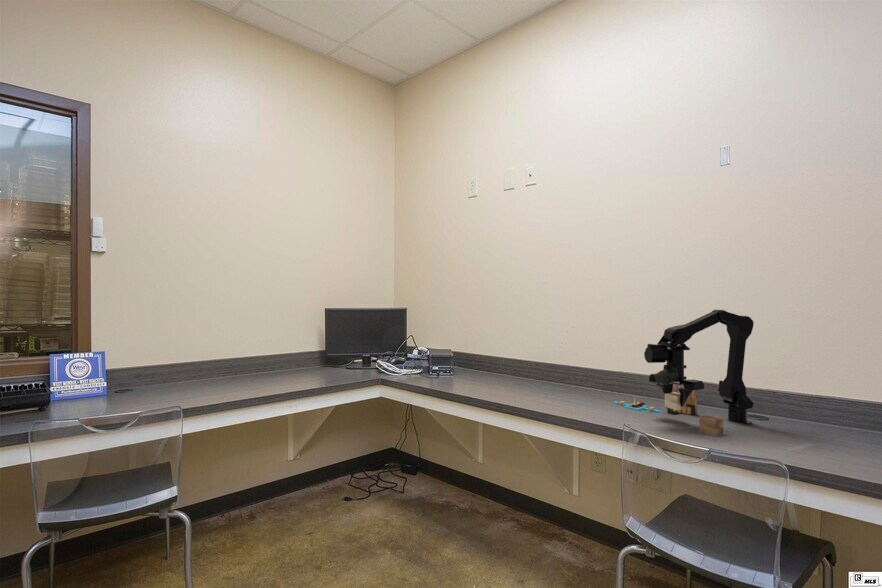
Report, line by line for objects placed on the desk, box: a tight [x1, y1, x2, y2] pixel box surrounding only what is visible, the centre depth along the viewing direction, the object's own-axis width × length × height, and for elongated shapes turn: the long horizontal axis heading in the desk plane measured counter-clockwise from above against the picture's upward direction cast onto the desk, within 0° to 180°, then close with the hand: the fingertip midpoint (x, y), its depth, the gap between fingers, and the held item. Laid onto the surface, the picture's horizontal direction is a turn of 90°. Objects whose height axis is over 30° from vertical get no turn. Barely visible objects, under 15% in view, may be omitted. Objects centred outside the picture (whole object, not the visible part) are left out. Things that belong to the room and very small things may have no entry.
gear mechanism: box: [614, 396, 661, 414], centre depth 191 cm, size 20×5×9 cm
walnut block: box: [698, 414, 724, 436], centre depth 153 cm, size 5×5×5 cm
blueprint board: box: [676, 424, 748, 443], centre depth 153 cm, size 16×16×1 cm
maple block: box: [664, 391, 686, 410], centre depth 166 cm, size 5×5×5 cm
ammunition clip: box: [666, 384, 698, 417], centre depth 178 cm, size 11×2×12 cm, turn 40°
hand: (675, 404), depth 166 cm, fingers closed on maple block, 5 cm apart
